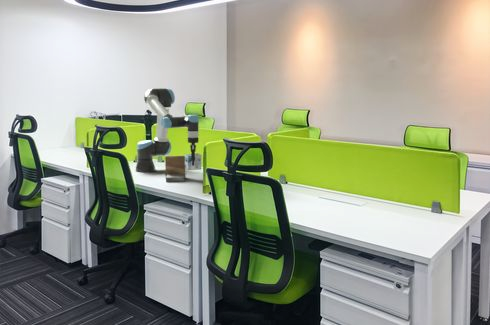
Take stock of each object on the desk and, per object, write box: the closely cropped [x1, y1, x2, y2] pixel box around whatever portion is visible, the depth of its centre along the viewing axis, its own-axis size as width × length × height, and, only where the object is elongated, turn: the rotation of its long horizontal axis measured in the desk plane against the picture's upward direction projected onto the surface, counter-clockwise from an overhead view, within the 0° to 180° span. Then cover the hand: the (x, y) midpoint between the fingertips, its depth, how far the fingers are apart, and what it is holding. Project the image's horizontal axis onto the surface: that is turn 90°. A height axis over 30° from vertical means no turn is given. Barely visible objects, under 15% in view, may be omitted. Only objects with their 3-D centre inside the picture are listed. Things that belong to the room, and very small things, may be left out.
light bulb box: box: [184, 153, 203, 171], centre depth 310 cm, size 11×7×11 cm, turn 117°
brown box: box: [164, 155, 186, 183], centre depth 309 cm, size 14×14×16 cm
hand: (193, 168), depth 311 cm, fingers closed on light bulb box, 8 cm apart
